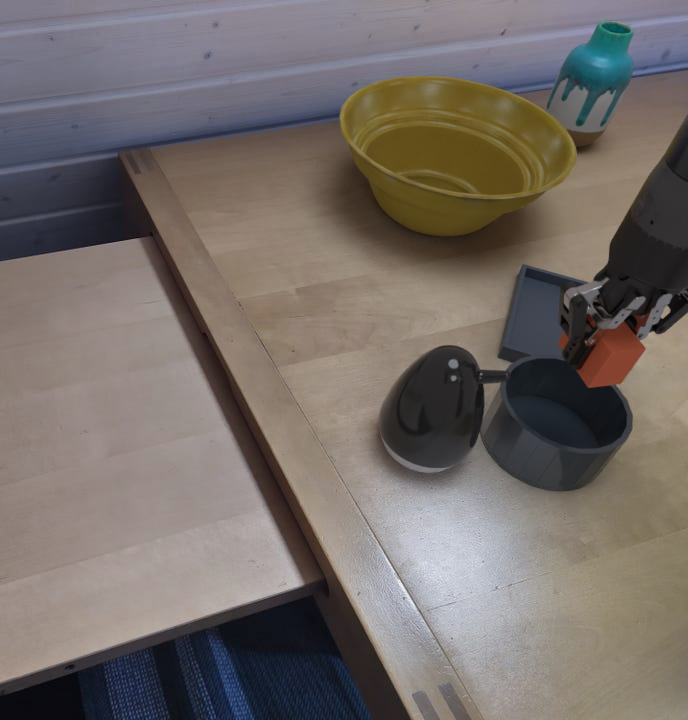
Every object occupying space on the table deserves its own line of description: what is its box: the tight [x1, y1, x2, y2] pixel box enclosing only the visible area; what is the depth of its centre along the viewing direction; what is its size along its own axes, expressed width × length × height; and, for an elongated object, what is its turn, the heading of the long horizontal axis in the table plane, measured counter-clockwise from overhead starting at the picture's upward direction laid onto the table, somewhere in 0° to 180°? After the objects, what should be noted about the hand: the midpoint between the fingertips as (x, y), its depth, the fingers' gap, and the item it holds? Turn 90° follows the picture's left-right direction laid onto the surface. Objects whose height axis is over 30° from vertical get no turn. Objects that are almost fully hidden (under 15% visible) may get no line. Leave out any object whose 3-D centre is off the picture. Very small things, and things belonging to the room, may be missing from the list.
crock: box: [480, 355, 634, 492], centre depth 77 cm, size 13×13×7 cm
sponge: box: [558, 314, 647, 388], centre depth 68 cm, size 4×6×5 cm, turn 10°
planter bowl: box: [338, 75, 578, 237], centre depth 103 cm, size 32×32×13 cm
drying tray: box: [497, 263, 618, 386], centre depth 91 cm, size 17×13×2 cm
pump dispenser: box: [377, 344, 510, 474], centre depth 73 cm, size 10×10×15 cm
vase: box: [544, 19, 635, 148], centre depth 116 cm, size 11×11×19 cm
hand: (590, 360), depth 70 cm, fingers closed on sponge, 3 cm apart
